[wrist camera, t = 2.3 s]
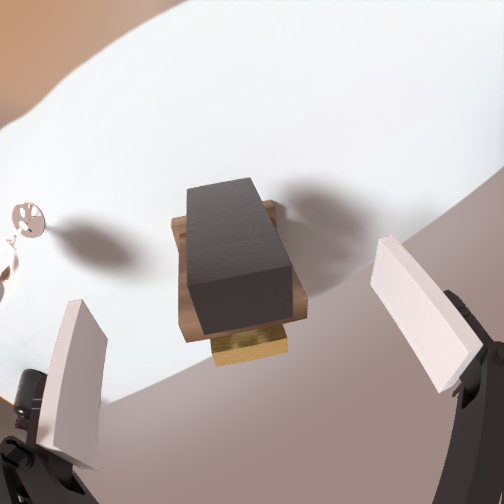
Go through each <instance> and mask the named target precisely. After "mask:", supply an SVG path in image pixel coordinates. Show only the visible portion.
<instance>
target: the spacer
mask: <svg viewBox="0 0 504 504" xmlns="http://www.w3.org/2000/svg"><path fill="white" fill-rule="evenodd" d="M210 342H211V350H212V355H213V358H214V360H215V363H216V366H217V367H218V366H223V365H229V364H234V363H239V362H244V361H249V360H254V359H259V358H263V357H268V356H272V355H276V354H281V353H286V352H288V349H287V348H288V347H287V336H286V333H285V330H284V327H283V324H280V325H275V326H271V327H266V328H262V329H257V330H252V331H247V332H242V333H237V334H232V335H227V336H222V337H216V338H211V339H210Z"/></svg>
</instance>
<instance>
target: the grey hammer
mask: <svg viewBox="0 0 504 504" xmlns="http://www.w3.org/2000/svg"><path fill="white" fill-rule="evenodd" d="M186 256H187V287H188V290H189V293H190V296H191V299H192V302H193V305H194V308H195V311H196V314H197V317H198V319H199V322H200V325H201V328H202V331H203V333H204V335H209V334H214V333H220V332H225V331H230V330H235V329H240V328H245V327H250V326H255V325H260V324H264V323H269V322H274V321H278V320H282V319H287V318H291V317H293V282H292V264H291V262H290V259H289V257H288V255H287V253H286V251H285V249H284V247H283V244H282V242H281V240H280V238H279V236H278V234H277V232H276V230H275V228H274V225H273V223H272V221H271V219H270V217H269V215H268V213H267V211H266V209H265V207H264V205H263V203H262V201H261V198H260V196H259V194H258V192H257V190H256V188H255V186H254V184H253V182H252V180H251V178H244V179H238V180H232V181H227V182H221V183H216V184H211V185H205V186H200V187H195V188H190V189H187V220H186Z"/></svg>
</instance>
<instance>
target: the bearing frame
mask: <svg viewBox="0 0 504 504" xmlns="http://www.w3.org/2000/svg"><path fill="white" fill-rule="evenodd" d="M262 203H263V205H264V207H265V209H266V211H267V213H268V215H269V217H270V219H271V221H272V223H273V225H274V228H275V230H276V218H275V206H274V205H273V203H272V201H271V200H267V201H262ZM186 220H187V216H183V217H178V218H173V219H172V222H171V228H172V231H173V235H174V238H175V242H176V245H177V248H178V252H179V279H178V318H179V327H180V329H181V332H182V334H183V336H184V339H185V341H186V343H188V342H194V341H200V340H205V339H211V338H216V337H222V336H227V335H232V334H237V333H242V332H247V331H252V330H257V329H262V328H266V327H271V326H275V325H280V324H284V323H289V322H293V321H297V320H301V319H305V318H307V304H308V299H307V296H306V294H305V292H304V290H303V288H302V285H301V283H300V281H299V279H298V277H297V275H296V272H295V270H294V268H293V266H292V282H293V317H291V318H287V319H282V320H278V321H274V322H269V323H264V324H260V325H255V326H250V327H245V328H240V329H235V330H230V331H225V332H220V333H214V334H209V335H204V333H203V331H202V328H201V325H200V322H199V319H198V317H197V314H196V311H195V308H194V305H193V302H192V299H191V296H190V293H189V290H188V287H187V256H186Z"/></svg>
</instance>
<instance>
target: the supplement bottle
mask: <svg viewBox="0 0 504 504" xmlns="http://www.w3.org/2000/svg"><path fill="white" fill-rule="evenodd" d="M43 376H45V375H44V374H42V373H40V372H38V371H35V370H30V369H28V370H24V371H23V372H22V375H21V378H20V382H19V386H18V389H17V394H16V398H15V402H14V407H13V411H14V414H15V416H16V417H17V418H18V419H16V424H15V430H16V431H17V432H18V433H20V434H22V435H24V436H26V437H27V432H28V425H29V419H30V413H31V410H32V402H33V401H34V399H33V397H34V392H35V388H36V386H37V384H38V382H39V380H40V378H41V377H43Z"/></svg>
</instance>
